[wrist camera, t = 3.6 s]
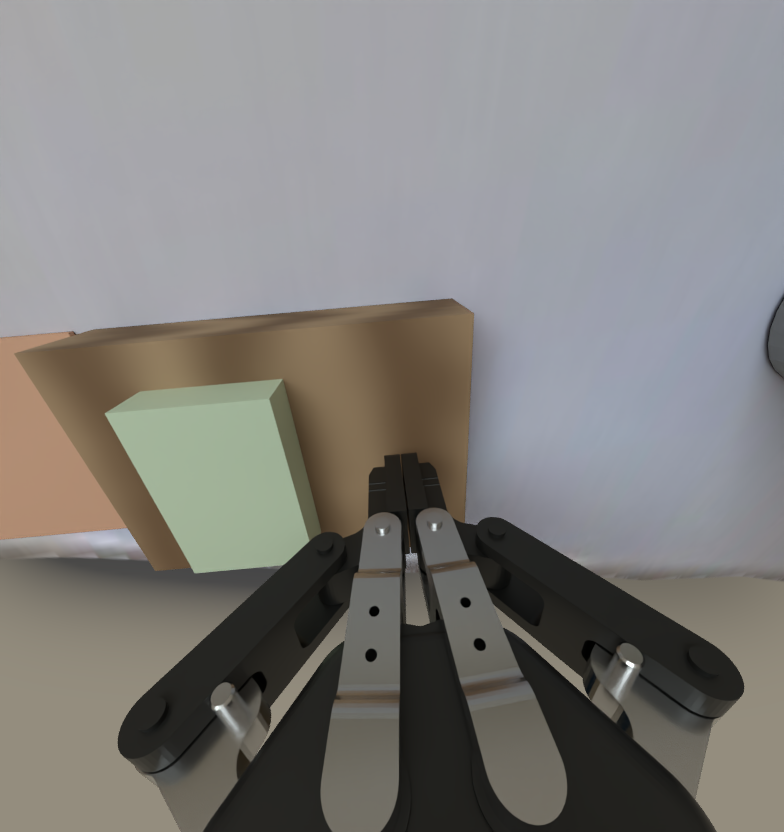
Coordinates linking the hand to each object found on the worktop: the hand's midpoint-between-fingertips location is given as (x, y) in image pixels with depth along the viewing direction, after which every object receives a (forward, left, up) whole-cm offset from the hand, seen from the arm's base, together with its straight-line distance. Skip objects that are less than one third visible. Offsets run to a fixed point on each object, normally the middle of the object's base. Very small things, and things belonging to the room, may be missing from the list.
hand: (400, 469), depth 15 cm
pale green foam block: (+8, 0, -1) cm, 8 cm away
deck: (+6, 0, -5) cm, 8 cm away
